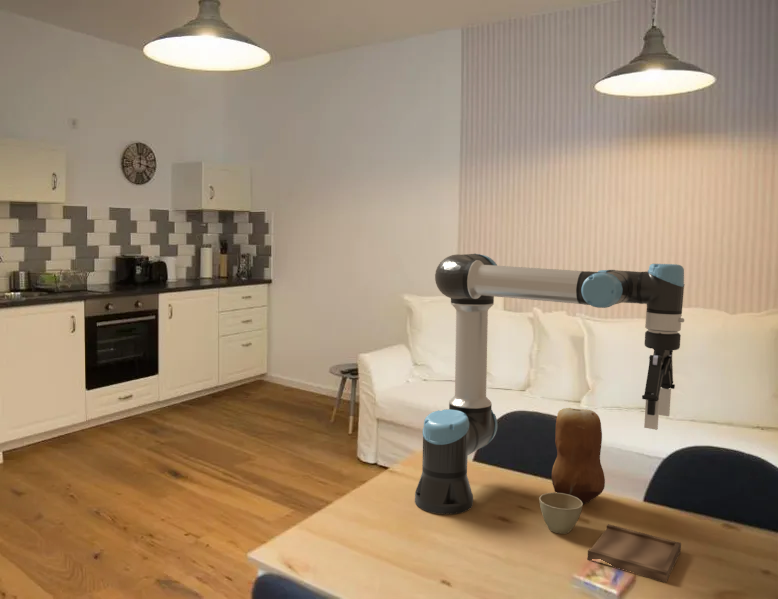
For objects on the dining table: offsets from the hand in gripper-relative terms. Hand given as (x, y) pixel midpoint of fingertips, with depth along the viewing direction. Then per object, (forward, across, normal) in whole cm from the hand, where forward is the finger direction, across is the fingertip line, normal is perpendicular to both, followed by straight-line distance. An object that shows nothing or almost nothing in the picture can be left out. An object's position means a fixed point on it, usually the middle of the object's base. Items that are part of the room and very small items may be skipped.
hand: (657, 421), depth 150 cm
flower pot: (+28, -10, +19) cm, 35 cm away
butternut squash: (+28, +9, +20) cm, 36 cm away
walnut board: (+27, -13, +1) cm, 30 cm away
